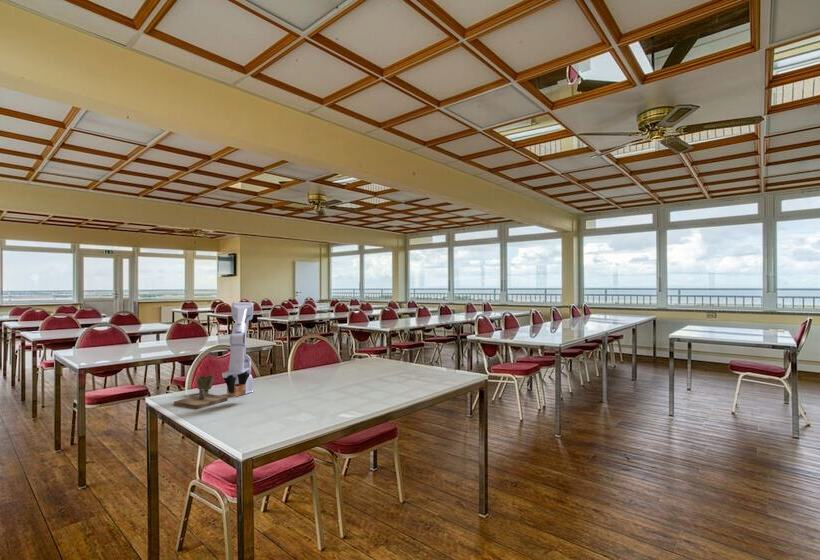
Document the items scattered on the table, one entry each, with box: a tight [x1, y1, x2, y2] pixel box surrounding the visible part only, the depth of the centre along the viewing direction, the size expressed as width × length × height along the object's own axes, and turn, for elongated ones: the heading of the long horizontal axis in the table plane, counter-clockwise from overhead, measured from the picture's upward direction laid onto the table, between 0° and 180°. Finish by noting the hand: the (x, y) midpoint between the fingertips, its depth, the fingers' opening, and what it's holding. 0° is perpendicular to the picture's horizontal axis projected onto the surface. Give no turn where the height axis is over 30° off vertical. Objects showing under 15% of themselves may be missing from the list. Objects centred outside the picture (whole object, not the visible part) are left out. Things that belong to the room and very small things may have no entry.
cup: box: [196, 374, 214, 394], centre depth 203 cm, size 8×7×8 cm
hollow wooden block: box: [226, 384, 247, 397], centre depth 187 cm, size 5×5×4 cm
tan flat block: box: [173, 389, 229, 410], centre depth 187 cm, size 16×14×6 cm
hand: (236, 391), depth 187 cm, fingers closed on hollow wooden block, 5 cm apart
